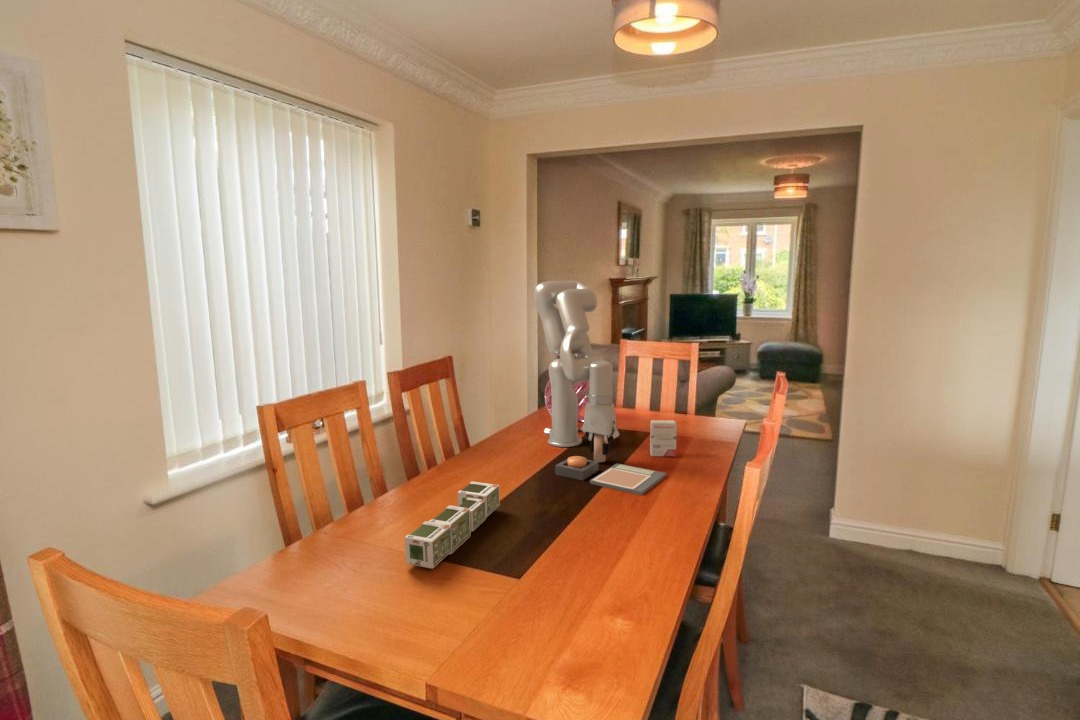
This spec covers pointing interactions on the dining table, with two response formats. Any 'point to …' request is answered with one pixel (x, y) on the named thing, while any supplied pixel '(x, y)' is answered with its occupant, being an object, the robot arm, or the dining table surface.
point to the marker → (599, 448)
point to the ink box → (663, 438)
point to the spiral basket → (580, 391)
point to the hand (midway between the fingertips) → (599, 452)
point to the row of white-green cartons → (451, 525)
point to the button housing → (576, 470)
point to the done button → (577, 461)
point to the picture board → (628, 478)
